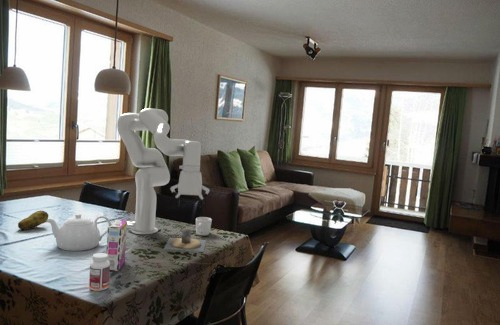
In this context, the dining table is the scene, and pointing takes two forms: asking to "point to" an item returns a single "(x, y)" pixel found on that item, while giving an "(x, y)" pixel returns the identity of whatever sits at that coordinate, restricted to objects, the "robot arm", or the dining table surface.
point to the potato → (33, 220)
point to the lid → (185, 241)
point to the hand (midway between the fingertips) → (189, 207)
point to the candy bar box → (116, 244)
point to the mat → (200, 249)
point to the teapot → (77, 233)
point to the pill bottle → (99, 272)
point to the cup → (203, 225)
